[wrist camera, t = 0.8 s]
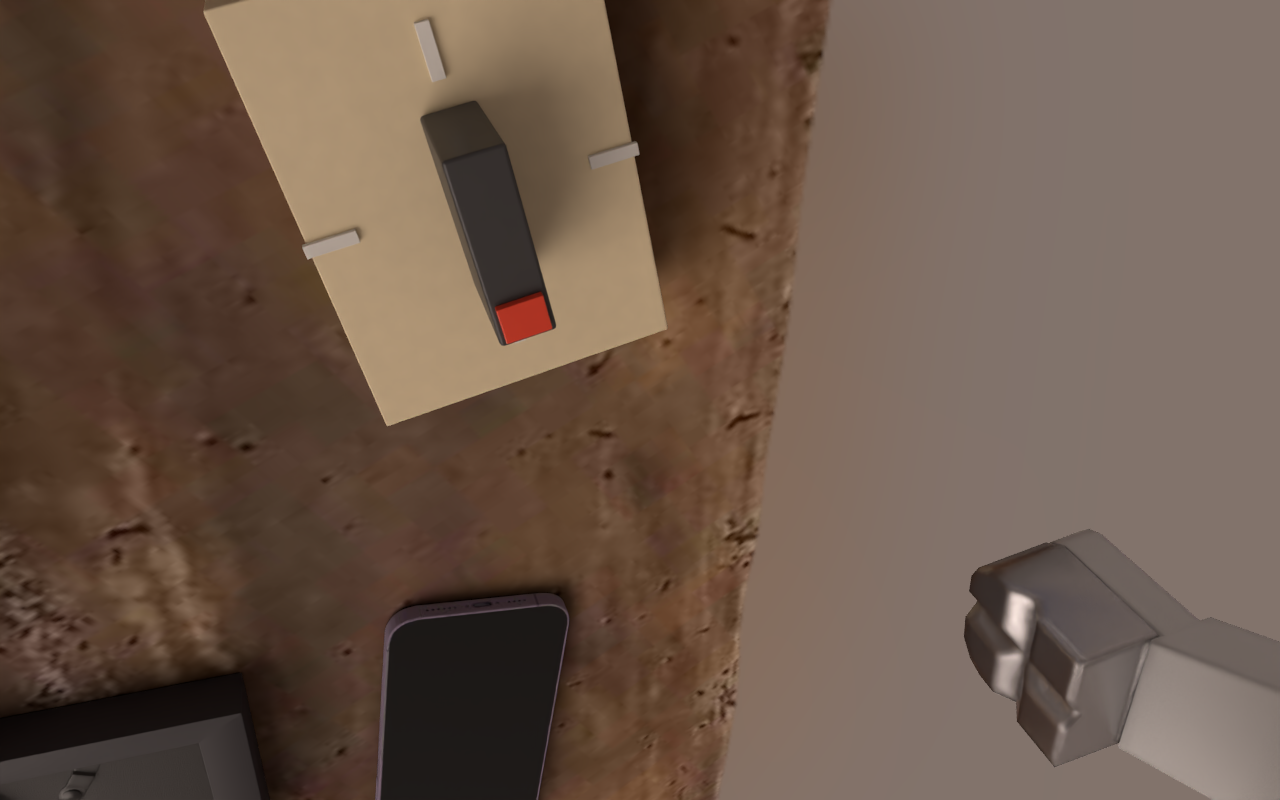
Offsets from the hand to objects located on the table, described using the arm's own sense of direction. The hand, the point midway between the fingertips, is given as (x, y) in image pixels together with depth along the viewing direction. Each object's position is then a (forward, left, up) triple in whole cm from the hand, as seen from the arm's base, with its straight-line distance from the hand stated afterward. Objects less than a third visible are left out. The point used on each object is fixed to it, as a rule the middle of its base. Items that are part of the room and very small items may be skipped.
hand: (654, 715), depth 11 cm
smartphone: (+25, -6, -21) cm, 33 cm away
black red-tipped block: (+1, +1, -18) cm, 18 cm away
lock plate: (+1, +1, -21) cm, 21 cm away
